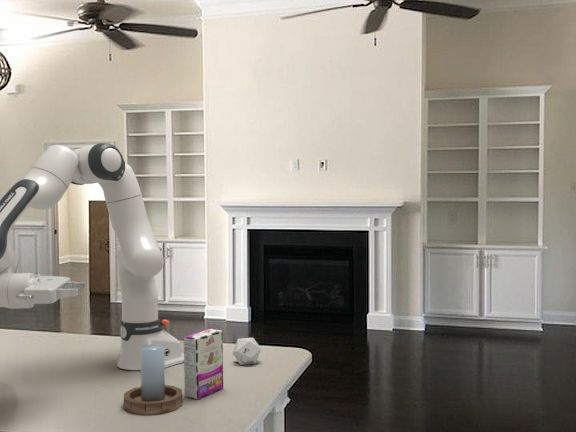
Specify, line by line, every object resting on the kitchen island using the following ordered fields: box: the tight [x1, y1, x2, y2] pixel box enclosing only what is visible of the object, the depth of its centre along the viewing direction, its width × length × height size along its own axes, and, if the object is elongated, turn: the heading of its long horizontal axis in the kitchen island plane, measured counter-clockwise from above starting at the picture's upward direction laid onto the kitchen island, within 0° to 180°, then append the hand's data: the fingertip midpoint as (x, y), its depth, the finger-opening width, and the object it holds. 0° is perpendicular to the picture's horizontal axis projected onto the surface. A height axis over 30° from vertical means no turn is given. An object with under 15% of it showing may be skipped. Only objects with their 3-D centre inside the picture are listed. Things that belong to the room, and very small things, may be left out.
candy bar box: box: [183, 328, 224, 400], centre depth 171 cm, size 11×5×16 cm, turn 148°
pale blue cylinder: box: [140, 344, 166, 402], centre depth 162 cm, size 6×6×14 cm
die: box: [232, 337, 262, 366], centre depth 201 cm, size 8×9×10 cm
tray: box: [123, 384, 184, 416], centre depth 162 cm, size 15×15×3 cm
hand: (81, 289), depth 161 cm, fingers open, 8 cm apart
